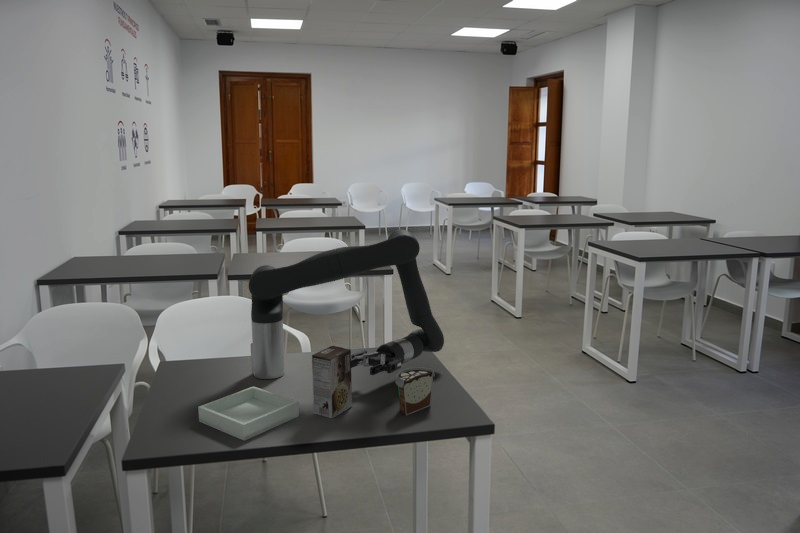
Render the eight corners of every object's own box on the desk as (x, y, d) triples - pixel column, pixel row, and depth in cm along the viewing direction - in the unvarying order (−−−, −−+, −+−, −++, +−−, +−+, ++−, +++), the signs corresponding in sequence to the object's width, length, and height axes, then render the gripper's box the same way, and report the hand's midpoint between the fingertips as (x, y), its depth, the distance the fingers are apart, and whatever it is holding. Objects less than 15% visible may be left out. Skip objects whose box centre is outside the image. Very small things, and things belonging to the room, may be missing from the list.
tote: (199, 421, 162) (198, 406, 161) (253, 400, 175) (253, 386, 175) (244, 440, 151) (243, 424, 151) (299, 416, 165) (298, 401, 164)
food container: (418, 397, 177) (418, 363, 175) (434, 404, 173) (434, 368, 171) (385, 410, 169) (385, 374, 167) (401, 417, 164) (402, 380, 163)
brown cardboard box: (333, 402, 174) (332, 345, 171) (352, 406, 171) (352, 348, 168) (312, 413, 167) (310, 354, 164) (332, 419, 163) (331, 358, 160)
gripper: (376, 337, 192) (339, 350, 179) (414, 345, 183) (379, 360, 171) (376, 360, 193) (340, 375, 181) (414, 370, 185) (379, 387, 172)
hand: (359, 368), depth 176 cm, fingers open, 8 cm apart
